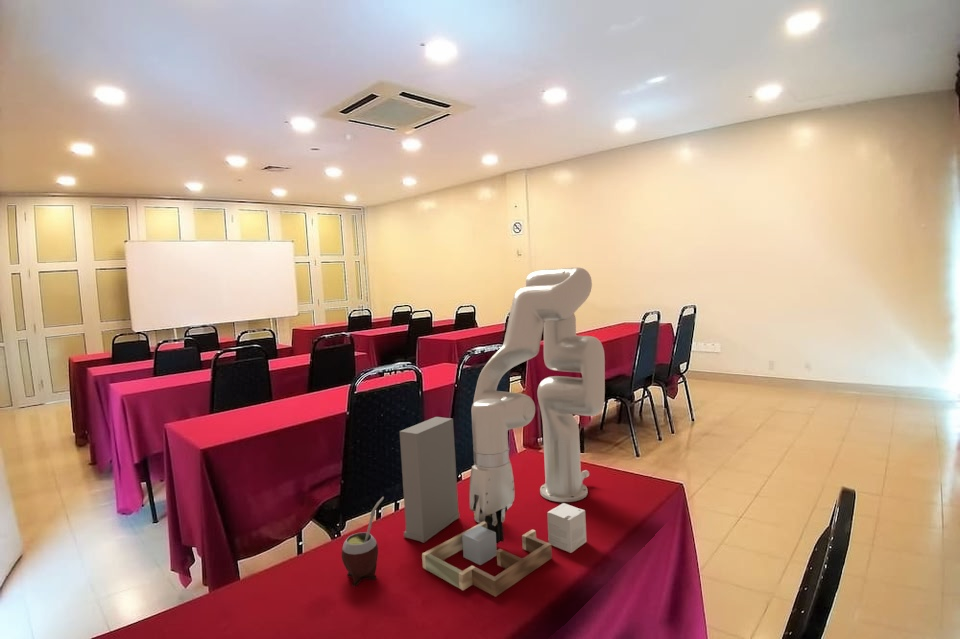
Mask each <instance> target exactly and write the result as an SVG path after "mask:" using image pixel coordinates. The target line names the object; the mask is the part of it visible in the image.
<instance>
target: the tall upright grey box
mask: <svg viewBox="0 0 960 639" xmlns="http://www.w3.org/2000/svg"><path fill="white" fill-rule="evenodd" d="M454 431H455V430H454V418H451V417H441V416H434V417H432V418H429V419H427V420H424V421H422V422H419V423H417V424H415V425H412V426H410V427H409V426H408V427H406V428H405V429H402V430H399V444H400V446H399V447H400V460H401V461H400V462H401V473H402V489H403V491H402V492H403V504H404V517H405V518H404V519H405V520H404V522H405V531H403V537H404V538H406V539H410V540H414V541H418V542H421V543H422V544H423V543H426V542H427V541H428V540H429V539H432V537H434V536H435V535H437V534H438V533H439V532H441V531H442V530H444V529H445V528H446V527H448V526H449V525H450V524H452V523H453V522H455V521H457V520H458V519H460V512H459V502H458V501H459V500H458V483H457V482H458V481H457V467H456V466H457V465H456V449H455V432H454Z"/></svg>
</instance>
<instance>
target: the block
mask: <svg viewBox="0 0 960 639" xmlns="http://www.w3.org/2000/svg"><path fill="white" fill-rule="evenodd" d="M477 525H478V524H477ZM462 533H463V532H462ZM462 541H463V549H462V553H463V554H462V555H463V556H462V557H463V558H465V559H466V560H469V561H470V562H472V563H475V564H476V565H479V566H481V565H484V564H485V563H487V562H488V561H490V560H492V559H493V558H494V557H497V550H498V548H497V543H496V532H494V531H491V530H489V529H487V528H484V527H482V526H479V525H478V526H477V527H475V528H473V529H471V530H469V531H467V532H465V533H463V534H462Z"/></svg>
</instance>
